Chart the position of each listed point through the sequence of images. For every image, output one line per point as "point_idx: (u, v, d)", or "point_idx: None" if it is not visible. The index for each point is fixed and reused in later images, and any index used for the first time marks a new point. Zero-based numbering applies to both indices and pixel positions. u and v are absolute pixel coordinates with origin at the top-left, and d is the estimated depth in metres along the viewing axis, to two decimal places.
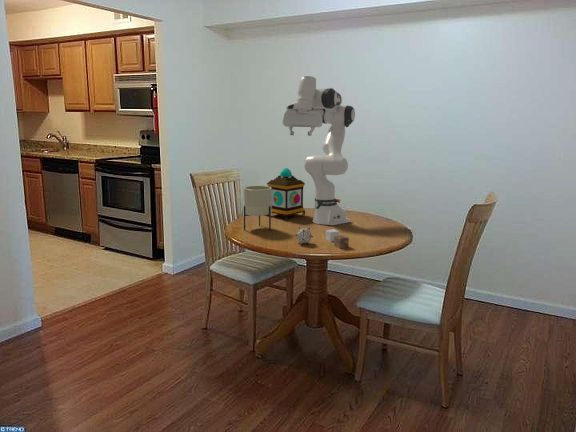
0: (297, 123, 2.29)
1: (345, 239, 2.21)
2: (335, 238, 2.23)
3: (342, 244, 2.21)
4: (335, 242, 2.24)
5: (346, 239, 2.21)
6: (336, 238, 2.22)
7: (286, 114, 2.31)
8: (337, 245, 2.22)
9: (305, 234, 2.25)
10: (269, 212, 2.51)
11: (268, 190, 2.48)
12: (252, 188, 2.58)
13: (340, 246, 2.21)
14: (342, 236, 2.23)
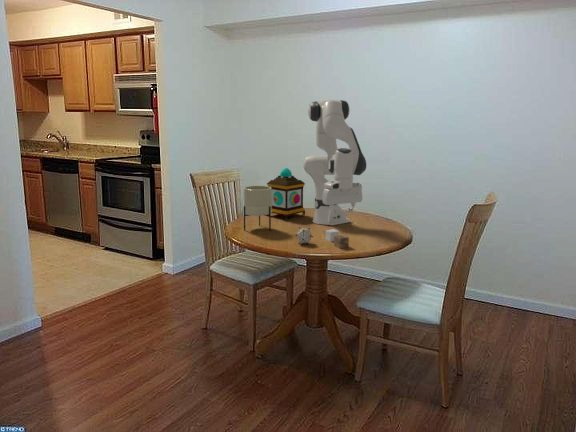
0: (341, 202, 2.17)
1: (345, 239, 2.21)
2: (335, 238, 2.23)
3: (342, 244, 2.21)
4: (335, 242, 2.24)
5: (346, 239, 2.21)
6: (336, 238, 2.22)
7: (330, 194, 2.13)
8: (337, 245, 2.22)
9: (305, 234, 2.25)
10: (269, 212, 2.51)
11: (268, 190, 2.48)
12: (252, 188, 2.58)
13: (340, 246, 2.21)
14: (342, 236, 2.23)
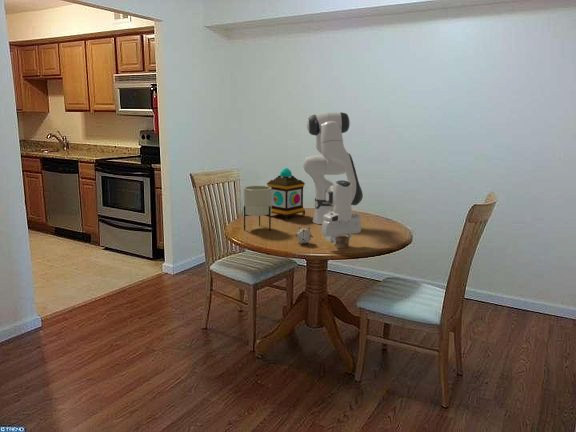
0: (340, 233, 2.20)
1: (345, 239, 2.21)
2: (335, 238, 2.23)
3: (342, 244, 2.21)
4: None
5: (346, 239, 2.21)
6: (336, 238, 2.22)
7: (329, 226, 2.16)
8: (337, 245, 2.22)
9: (305, 234, 2.25)
10: (269, 212, 2.51)
11: (268, 190, 2.48)
12: (252, 188, 2.58)
13: (340, 246, 2.21)
14: (342, 236, 2.23)
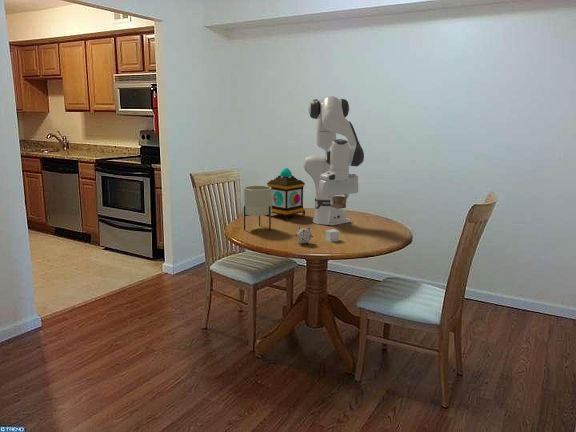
0: (337, 193, 2.17)
1: (342, 199, 2.18)
2: (332, 198, 2.20)
3: (339, 204, 2.17)
4: None
5: (343, 199, 2.18)
6: (333, 198, 2.19)
7: (326, 185, 2.12)
8: (334, 205, 2.19)
9: (305, 234, 2.25)
10: (269, 212, 2.51)
11: (268, 190, 2.48)
12: (252, 188, 2.58)
13: (337, 206, 2.17)
14: (339, 196, 2.20)
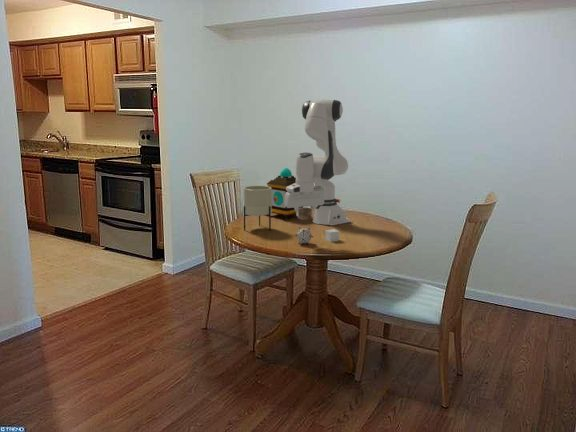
0: (303, 205, 2.22)
1: (308, 210, 2.23)
2: (298, 210, 2.25)
3: (304, 215, 2.23)
4: None
5: (309, 211, 2.23)
6: (299, 210, 2.24)
7: (291, 197, 2.18)
8: (300, 217, 2.24)
9: (305, 234, 2.25)
10: (269, 212, 2.51)
11: (268, 190, 2.48)
12: (252, 188, 2.58)
13: (303, 217, 2.23)
14: (305, 208, 2.25)
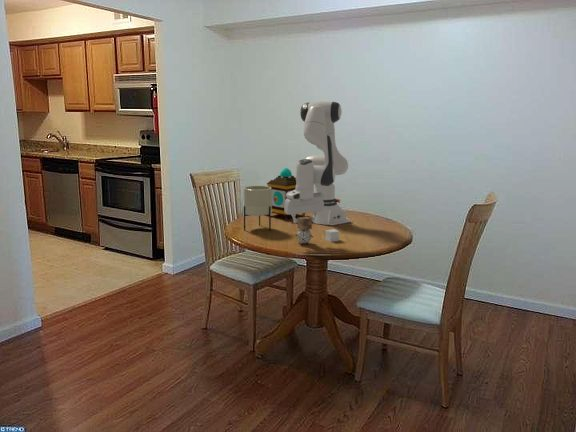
0: (302, 211, 2.23)
1: (308, 220, 2.24)
2: (298, 219, 2.26)
3: (305, 225, 2.24)
4: (298, 223, 2.27)
5: (309, 220, 2.25)
6: (299, 219, 2.26)
7: (291, 204, 2.19)
8: (300, 226, 2.25)
9: (305, 234, 2.25)
10: (269, 212, 2.51)
11: (268, 190, 2.48)
12: (252, 188, 2.58)
13: (303, 227, 2.24)
14: (305, 217, 2.27)
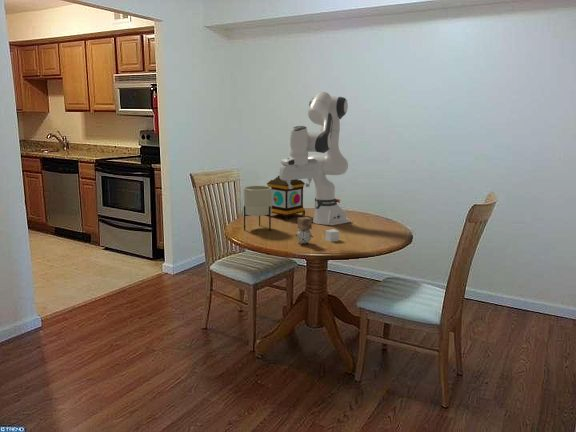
0: (297, 178, 2.27)
1: (308, 220, 2.24)
2: (298, 219, 2.26)
3: (305, 225, 2.24)
4: (298, 223, 2.27)
5: (309, 220, 2.24)
6: (299, 219, 2.25)
7: (286, 170, 2.23)
8: (300, 226, 2.25)
9: (305, 234, 2.25)
10: (269, 212, 2.51)
11: (268, 190, 2.48)
12: (252, 188, 2.58)
13: (303, 227, 2.24)
14: (305, 217, 2.27)
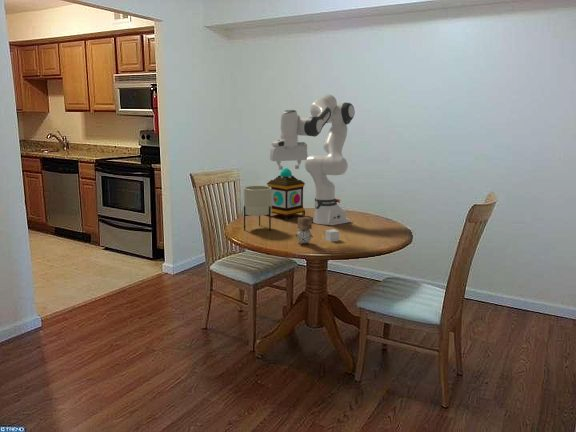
0: (287, 159, 2.38)
1: (308, 220, 2.24)
2: (298, 219, 2.26)
3: (305, 225, 2.24)
4: (298, 223, 2.27)
5: (309, 220, 2.24)
6: (299, 219, 2.25)
7: (276, 151, 2.34)
8: (300, 226, 2.25)
9: (305, 234, 2.25)
10: (269, 212, 2.51)
11: (268, 190, 2.48)
12: (252, 188, 2.58)
13: (303, 227, 2.24)
14: (305, 217, 2.27)
